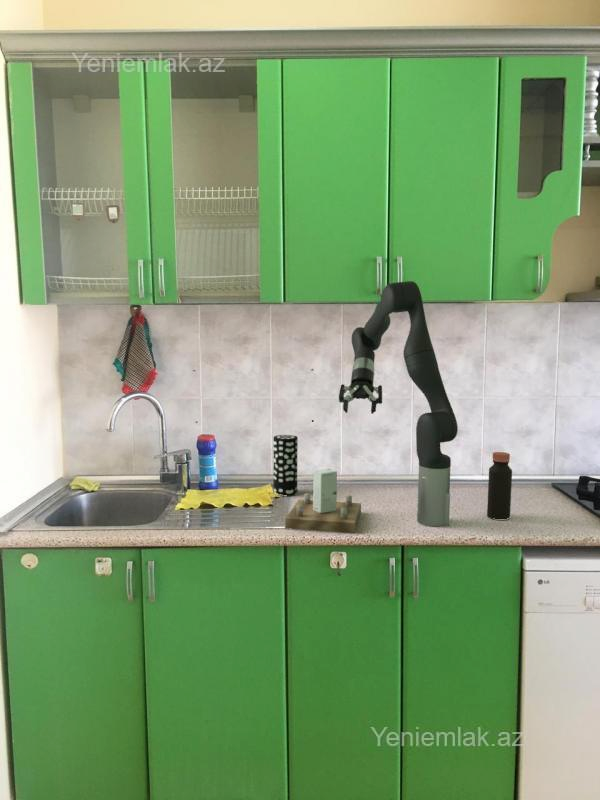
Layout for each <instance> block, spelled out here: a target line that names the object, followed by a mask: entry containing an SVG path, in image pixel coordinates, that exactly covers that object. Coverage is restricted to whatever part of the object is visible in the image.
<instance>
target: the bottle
mask: <svg viewBox="0 0 600 800" xmlns="http://www.w3.org/2000/svg"><path fill="white" fill-rule="evenodd" d="M510 455H511V454H510V453H509V452H504V451H495V452H493V453H492V463H493V464H492V465H491V466H490V467H489V469H488V488H487V507H486V510H487V511H486V517H488V518H489V517H491V518H495V519H507V518H509V517H510V518H511V506H512V505H511V503H512V484H513V483H512V482H513V481H512V479H513V469H512V468H511V467H510V466H509V463H510V459H511V458H510V457H511V456H510ZM491 518H490V519H491ZM510 518H509V519H510ZM495 519H494V520H495Z"/></svg>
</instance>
